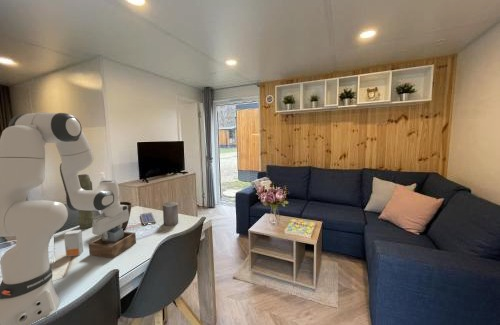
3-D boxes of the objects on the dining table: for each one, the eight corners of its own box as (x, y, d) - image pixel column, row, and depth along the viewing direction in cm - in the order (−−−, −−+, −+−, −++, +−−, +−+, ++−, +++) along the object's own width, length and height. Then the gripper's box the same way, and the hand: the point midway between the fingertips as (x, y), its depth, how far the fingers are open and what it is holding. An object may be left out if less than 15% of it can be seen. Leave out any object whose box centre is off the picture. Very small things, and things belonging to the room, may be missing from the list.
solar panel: (143, 226, 148) (142, 223, 148) (140, 215, 167) (140, 213, 167) (155, 224, 152) (155, 221, 152) (151, 213, 171) (151, 211, 171)
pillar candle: (162, 221, 154) (161, 201, 152) (177, 219, 159) (176, 199, 157) (164, 227, 146) (163, 205, 144) (179, 224, 150) (178, 203, 148)
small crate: (114, 242, 113) (114, 233, 113) (102, 240, 115) (101, 231, 115) (123, 237, 119) (123, 228, 119) (111, 235, 121) (110, 227, 120)
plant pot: (137, 224, 149) (136, 202, 147) (123, 234, 135) (121, 209, 133) (117, 224, 151) (115, 201, 149) (100, 233, 136) (98, 208, 134)
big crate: (112, 258, 108) (111, 246, 108) (89, 254, 111) (88, 243, 111) (136, 242, 124) (135, 232, 123) (115, 240, 127) (114, 230, 126)
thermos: (100, 222, 153) (95, 173, 149) (88, 229, 142) (83, 176, 137) (87, 222, 153) (82, 173, 149) (74, 230, 141) (68, 176, 137)
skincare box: (65, 257, 109) (63, 234, 108) (70, 252, 114) (67, 230, 112) (80, 255, 111) (77, 232, 110) (83, 251, 115) (81, 229, 114)
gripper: (98, 218, 104) (100, 245, 106) (130, 204, 124) (132, 228, 126) (87, 217, 106) (90, 244, 108) (120, 204, 126) (122, 227, 127)
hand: (113, 235), depth 117 cm, fingers closed on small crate, 6 cm apart
